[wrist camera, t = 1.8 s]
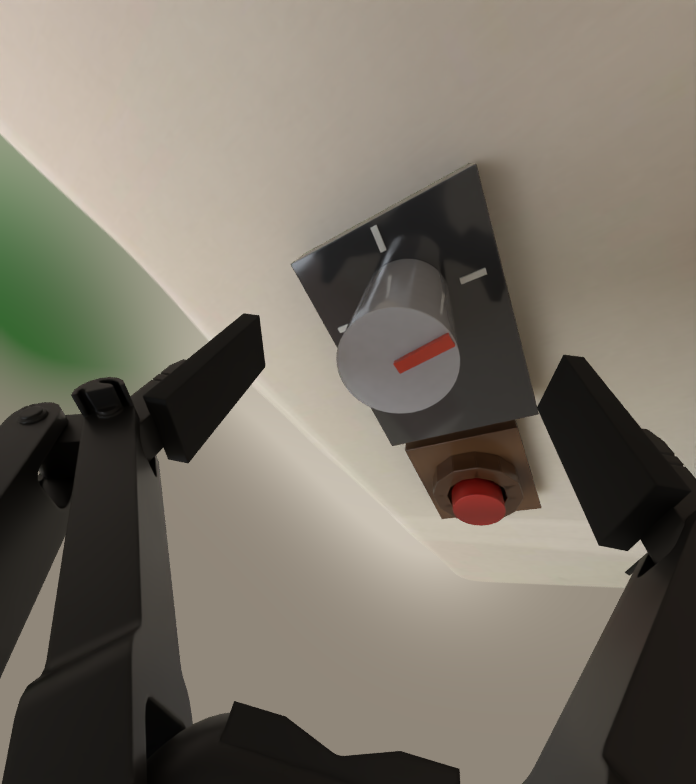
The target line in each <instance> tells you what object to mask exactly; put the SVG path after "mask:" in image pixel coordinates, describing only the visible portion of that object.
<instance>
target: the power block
mask: <svg viewBox="0 0 696 784" xmlns="http://www.w3.org/2000/svg"><path fill="white" fill-rule="evenodd" d="M405 451H406V453H407V455H408V457H409V458H410V460H411V462H412V464H413V466H414V468H415V470H416V472H417V473H418V475H419V477H420V479H421V481H422V483H423V485H424V486H425V488H426V490H427V492H428V494H429V496H430V498H431V499H432V501H433V503H434V505H435V507H436V509H437V511H438V512H439V514H440V516H441V518H442V519H446V518H457V517H456V516H455V514H454V512H453V507H452V489H453V487H454V485H455V484H456V483H458V482H460V481H461V480H466V479H472V478H481V479H487V480H491V481H493V482H495V483H496V484H497V485H498V486H499V487H500V488H501V490H502V494H503V499H504V503H505V508H506V513H505V516H507V515H509V514H511V513H514V512H515V511H519V510H528V509H537V508H541V504H540V501H539V498H538V494H537V491H536V488H535V484H534V481H533V477H532V474H531V471H530V467H529V464H528V461H527V457H526V454H525V451H524V447H523V444H522V440H521V437H520V434H519V430H518V427H517V424H516V421H515V420H510V421H506V422H501V423H496V424H492V425H487V426H483V427H478V428H473V429H469V430H464V431H460V432H455V433H450V434H446V435H441V436H437V437H432V438H427V439H423V440H418V441H413V442H409V443H406V448H405ZM505 516H504V517H505Z"/></svg>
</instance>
